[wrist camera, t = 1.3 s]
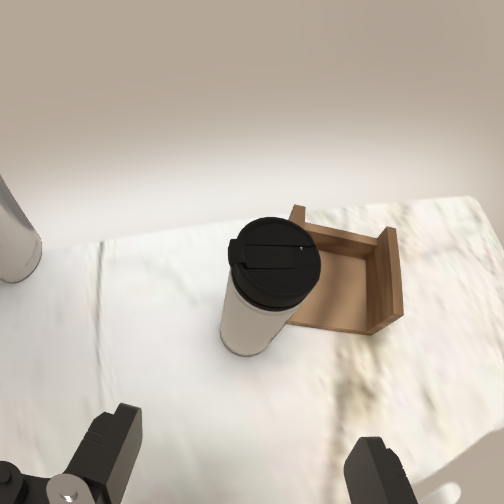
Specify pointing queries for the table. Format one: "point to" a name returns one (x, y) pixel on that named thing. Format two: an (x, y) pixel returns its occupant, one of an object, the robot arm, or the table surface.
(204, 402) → the table surface
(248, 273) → the travel mug
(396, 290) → the cradle
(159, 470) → the table surface
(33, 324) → the table surface
